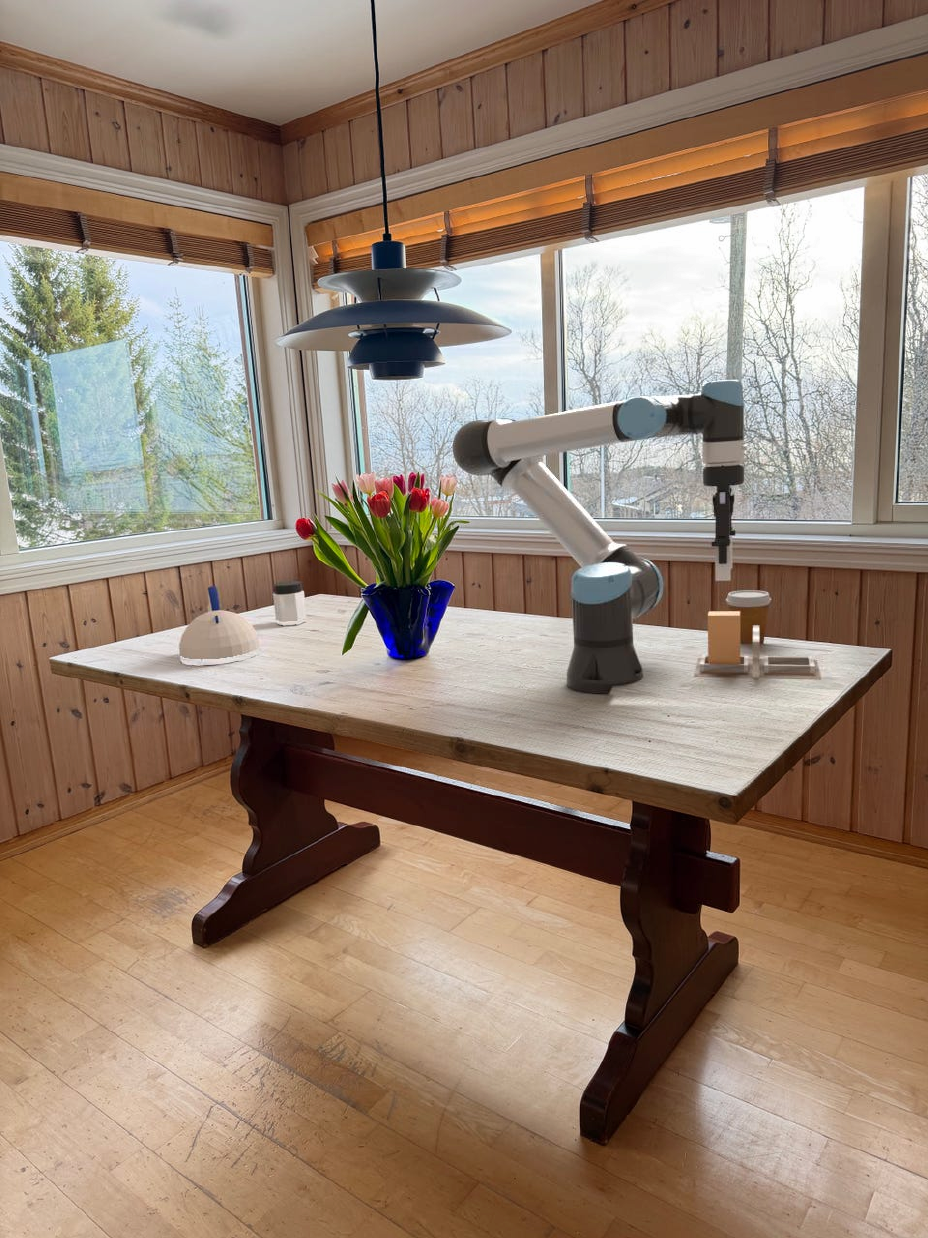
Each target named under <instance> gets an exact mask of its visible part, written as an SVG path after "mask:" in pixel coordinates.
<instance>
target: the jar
mask: <svg viewBox="0 0 928 1238" xmlns="http://www.w3.org/2000/svg"><path fill="white" fill-rule="evenodd" d="M272 586H273V593H272V597H273V604H274V615H275V621H276V620H279V621H282V622H283V621H297V620H300V619H306V618H307V619H308V617H307V616H308V615H307V609H306V608H307V607H306V599H305V597H306V596H305V591H304V590H303V584H302V581H301V580H300V581H299V580H289V581H288V580H287V581H280V582H277V583H274V584H273V585H272Z"/></svg>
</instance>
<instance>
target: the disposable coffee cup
mask: <svg viewBox="0 0 928 1238" xmlns="http://www.w3.org/2000/svg"><path fill="white" fill-rule="evenodd" d="M725 601H726V604H727V605H728V611H740V645H742V644H745V645H746V644H747V645H748V644H749V645H750V644H752V645H753V625H759V645H760V644H761V645H763V644H765V636H766V628H767V621H768V613H769V606H770V603H771V601H772V598H771V597H770V593H769V592H768V591H764V590H756V589H753V590H752V589H748V590H747V589H746V590H745V589H744V590H735V591H730V592H729V593H728V594H727V597H726V599H725Z"/></svg>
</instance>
